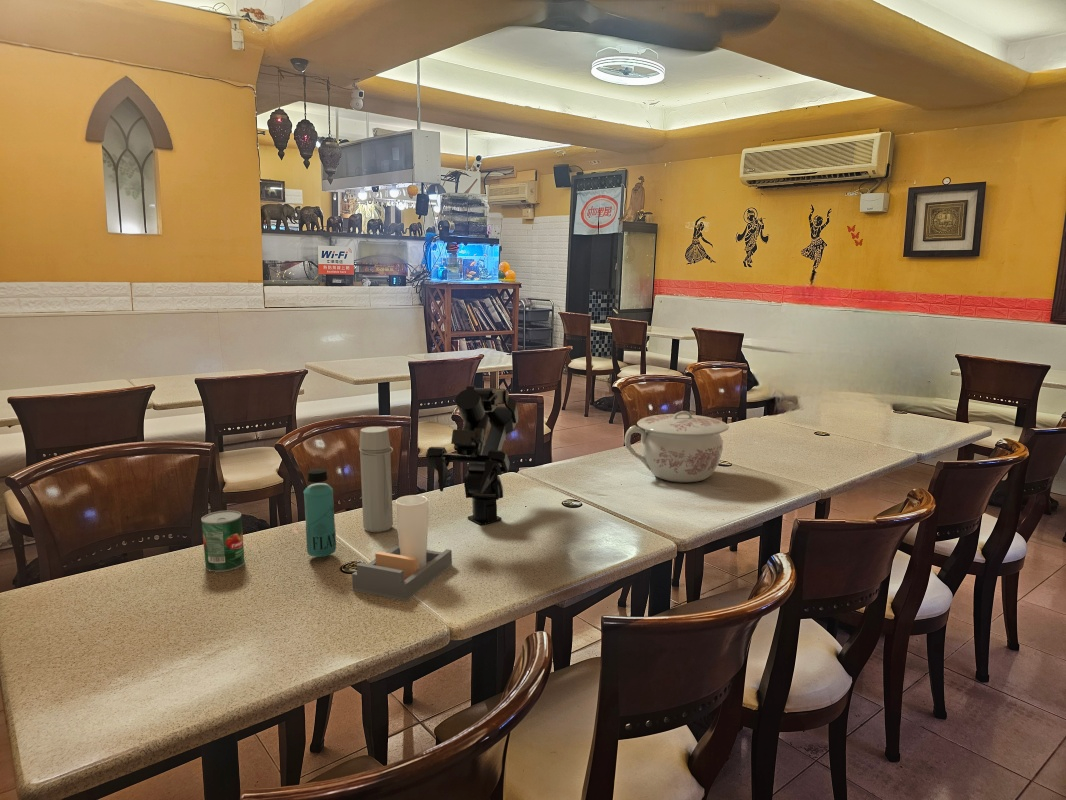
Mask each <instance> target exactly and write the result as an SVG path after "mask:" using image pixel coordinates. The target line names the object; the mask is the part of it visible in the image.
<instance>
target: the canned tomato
mask: <svg viewBox="0 0 1066 800" xmlns="http://www.w3.org/2000/svg"><path fill="white" fill-rule="evenodd" d="M200 520H201V530H202V531H201V533H202V540H203V552H204V553H203V554H204V563H205V567H206V568H205V567H204V568H205V570H206V569H207V570H206V571H208V570H210V571H209V572H211V571H215V572H214V573H224V572H223V571H226V572H230V571H229V570H231V571H234V570H237V569H239V568H242V567H243V566H244V565H245V563H246V559H245V548H244V536H243V535H244V534H243V532H244V531H243V522H242V521H243V520H242V513H241V512H240V511H237V510H218V511H214V512H210V513H208V514H205V515H203V516H202V517H201V518H200ZM242 565H243V566H242ZM233 569H234V570H233Z"/></svg>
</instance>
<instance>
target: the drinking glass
mask: <svg viewBox="0 0 1066 800" xmlns="http://www.w3.org/2000/svg"><path fill="white" fill-rule="evenodd" d="M429 515H430V514H429V500H428V498H427V497H426V496H424V495H417V494H410V495H404V496H400V497H398V498H397V499H396V500H395V522H396V529H397V530H396V532H397V538H398V544H399V548H400V555H402V556H408V557H414V558H417V561H418V570H419V569H420V568H422V567H423V566H425V565H426V554H427V550H428V537H429V536H428V534H429V533H428V532H429V522H430V521H429V518H430V517H429Z"/></svg>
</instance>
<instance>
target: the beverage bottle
mask: <svg viewBox="0 0 1066 800" xmlns="http://www.w3.org/2000/svg"><path fill="white" fill-rule="evenodd" d="M327 480H328V471H327V470H326V469H325V468H324V469H323V468H317V469H316V468H314V469H310V470H309V471H308V472H307V481H308V482H309V483H311V484H309V485H308V486H307V487H305V489H304V490H303V499H304V500H303V501H304V516H305V518H304V519H305V541H306V552H307V554H308V555H309V556H311V557H315V558H316V557H317V558H318V557H319V558H321V557H326V556H330V555H332V554H334V553H335V552H336V549H337V538H336V536H337V533H336V532H337V531H336V522H335V520H336V518H335V513H336V512H335V503H334V502H335V500H334V488H333V487H332V486H331V485H329V484H328V483H325V482H326V481H327Z"/></svg>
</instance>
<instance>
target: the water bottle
mask: <svg viewBox="0 0 1066 800" xmlns="http://www.w3.org/2000/svg"><path fill="white" fill-rule="evenodd" d="M389 433H390V432H389V429H388V427H385V426H368V427H363V428H361V429H360V430H359V446H358V447H359V448H358V450H359V452H360V453H359V458H360V478H361V481H360V482H361V499H362V504H361V506H362V523H363V524H362V525H363V528H364V529H365V531H367V532H369V531H370V533H382V532H381V531H383V532H386V531H388V530H390V529H392V527H393V525H394V517H393V515H394V514H393V490H392V489H393V488H392V465H391V464H392V463H391V457H392V456H391V454H392V452H393V451H394V448H393V447H392V446H391V441H390V434H389Z"/></svg>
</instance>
